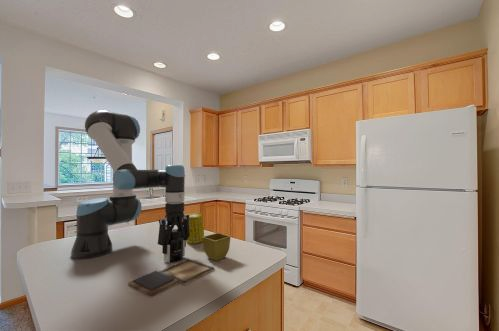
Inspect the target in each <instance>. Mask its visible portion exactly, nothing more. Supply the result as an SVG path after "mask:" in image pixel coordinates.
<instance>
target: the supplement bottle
mask: <svg viewBox="0 0 499 331" xmlns="http://www.w3.org/2000/svg"><path fill="white" fill-rule="evenodd" d="M180 235H181V230H180V229H178V228H173V229H172V233H171V236H170V240H169V243H168V245H170V262H169V263H180V262H182V260H183V259H184V256H183V237H182V236H180Z"/></svg>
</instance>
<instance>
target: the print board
mask: <svg viewBox="0 0 499 331" xmlns="http://www.w3.org/2000/svg"><path fill="white" fill-rule="evenodd" d="M214 270H215V268H214V266H210V265H207V264H204V263H202V262H199V261H195V260H191V259H189V258H188V259H186V260H183V261H180V262H177V263H176V264H174V265H172V266H169V267H167V268H164V269H162V270H159V271H158V272H160V273H163V274H165V275H168V276H170V277H173V278H175V279H178V283H177V284H179V285H183V286H186V285H188V284H190V283H192V282H194V281H196V280H198V279H200V278H201V277H203V276H206V275H207V274H209V273H211V272H212V271H214Z"/></svg>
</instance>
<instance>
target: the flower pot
mask: <svg viewBox="0 0 499 331" xmlns="http://www.w3.org/2000/svg"><path fill="white" fill-rule="evenodd" d="M202 239H203V242H202V245H203V246H202V247H203V250H204V253H205V255H206V256H207V258H209V259H210V260H213V261H218V260H221V259H225V257H226V256H227V255H228V253H229V251H230V245H231V235H227V234H223V233H219V232H216V233H211V234H208V235H204V237H202Z"/></svg>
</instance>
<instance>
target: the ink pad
mask: <svg viewBox="0 0 499 331" xmlns="http://www.w3.org/2000/svg"><path fill="white" fill-rule="evenodd" d="M173 280H174V278H172V277H169V276H167V275H164V274H162V273H159V271H158V272H157V270H155V271H151V272H149V273H146V274H144V275H143V276H139V277H137V278H135V279H133V280H132V281H133V282H134V283H136V284H138V285H140V286H142V287H144V288H147V289H149V290H151V291H153V290H155V289H157V288H159V287H161V286H163V285H165V284H167V283H169V282H171V281H173Z"/></svg>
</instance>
